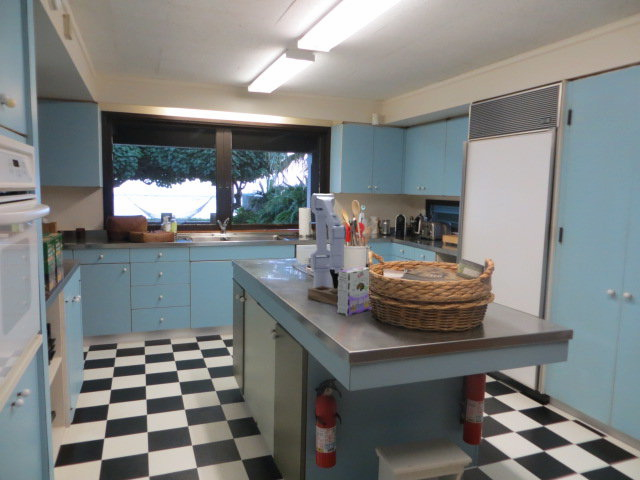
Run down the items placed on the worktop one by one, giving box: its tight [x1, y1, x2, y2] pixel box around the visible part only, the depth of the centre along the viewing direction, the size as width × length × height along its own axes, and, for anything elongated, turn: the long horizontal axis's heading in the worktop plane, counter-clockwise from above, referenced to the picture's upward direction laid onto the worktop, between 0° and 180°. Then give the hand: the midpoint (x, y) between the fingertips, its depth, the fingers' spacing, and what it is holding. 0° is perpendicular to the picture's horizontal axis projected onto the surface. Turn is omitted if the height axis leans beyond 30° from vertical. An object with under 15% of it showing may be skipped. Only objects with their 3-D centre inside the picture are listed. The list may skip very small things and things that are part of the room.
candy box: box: [336, 266, 371, 317], centre depth 176 cm, size 14×6×16 cm, turn 134°
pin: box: [332, 280, 338, 294], centre depth 190 cm, size 3×3×8 cm
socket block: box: [307, 286, 338, 306], centre depth 194 cm, size 9×16×4 cm, turn 46°
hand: (336, 287), depth 191 cm, fingers closed on pin, 3 cm apart
